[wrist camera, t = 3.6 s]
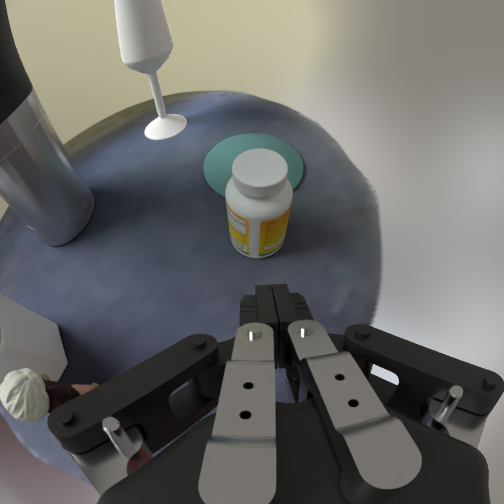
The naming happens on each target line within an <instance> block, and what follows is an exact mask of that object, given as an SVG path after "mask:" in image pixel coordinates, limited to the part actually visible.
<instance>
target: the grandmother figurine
mask: <svg viewBox="0 0 504 504" xmlns="http://www.w3.org/2000/svg"><path fill="white" fill-rule="evenodd" d="M98 386H99V384H97V383H92V384H91V385H76V384H74V385H67V384H65V383H61V382H56V381H51V380H50V377H49V376H48V375H47V374H42V375H39V374H37V373H35V372H34V371H33V370H31V369H29V368H24V369H20V370H15V371H12V372H10V373H8V374H7V375H6V377H5V379H4V381H3V382H2V384H1V386H0V398H1V402H2V404H3V406H4V407H5V408H6V409H7V410H8V412H9V413H10V414H11V415H12V416H14V418H15V419H19V420H20V421H24V422H31V421H38V420H39V419H40V418H42V417H44V416H45V415H46V414H47V412H49V413H51V412H52V411H53V410H54V409H55V408H57V407H58V406H60V405H62V404H64V403H66V402H68V401H70V400H72V399H74V398H76V397H78V396H80V395H82V394H84V393H86V392H88V391H90V390H92V389H94V388H96V387H98Z"/></svg>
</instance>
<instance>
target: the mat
mask: <svg viewBox="0 0 504 504" xmlns="http://www.w3.org/2000/svg"><path fill="white" fill-rule="evenodd" d="M251 149H268V150H272V151H274V152H276V153H278V154H280V155H281V156H282V157H283V158H284V159H285V161H286V163H287V165H288V175H287V179H288V180H289V182H290V184H291V187H292V191H293V190H294V189H295V188H296V187H297V185H298V184H299V183H300V181H301V178H302V175H303V168H304V167H303V161H302V158H301V156H300V154H299V153H298V151H297V150H296V149H295V148H294V147H293V146H292V145H290V144H289V143H287V142H286V141H284V140H282V139H280V138H278V137H275V136H271V135H267V134H260V133H247V134H240V135H236V136H232V137H229V138H227V139H225V140H223V141H221V142H220V143H218V144H217V145H215V146H214V147H213V148H212V149H211V150H210V151H209V153H208V154H207V156H206V158H205V160H204V164H203V171H204V176H205V179H206V181H207V183H208V185H209V186H210V187H211V188H212V189H213V190H214V191H215V192H216V193H218V194H219V195H220V196H222V197H224V198H225V191H226V186H227V184H228V181H229V180H230V178H231V177H232V165H233V162H234V160H235V159H236V157H237V156H238V155H240V154H241V153H243V152H245V151H248V150H251Z"/></svg>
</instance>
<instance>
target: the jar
mask: <svg viewBox="0 0 504 504" xmlns="http://www.w3.org/2000/svg"><path fill="white" fill-rule="evenodd" d="M67 364H68V362H67V358H66V355H65V352H64V348H63V345H62V341H61V337H60V334H59V330H58V325H57V324H56V323H54V322H52V321H50V320H48V319H46V318H44V317H42V316H40V315H38V314H36V313H34V312H32V311H30V310H29V309H27V308H25V307H23V306H21V305H19V304H18V303H16V302H14V301H12V300H11V299H9V298H7V297H6V296H4V295H2V294H1V293H0V386H1V384H2V382H3V381H4V379H5V377H6V375H7V374H8V373H10V372H12V371H15V370H20V369H24V368H29V369H31V370H33V371H34V372H35V373H37V374H39V375H42V374H47V375H48V376H49V377H50V380H51V381H56V382H58V380H59V379H60V377H61V375H62V373H63V371H64V369H65V368H66V366H67Z"/></svg>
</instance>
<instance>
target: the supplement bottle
mask: <svg viewBox="0 0 504 504" xmlns="http://www.w3.org/2000/svg"><path fill="white" fill-rule="evenodd" d="M287 175H288V165H287V163H286V161H285V159H284V158H283V157H282V156H281V155H280V154H278V153H276V152H274V151H272V150H268V149H251V150H248V151H245V152H243V153H241V154H240V155H238V156H237V157H236V159H235V160H234V162H233V165H232V177H231V178H230V180H229V181H228V184H227V186H226V191H225V198H226V207H227V214H228V223H229V231H230V238H231V241H232V244H233V245H234V247H235V248H236V249H237V251H239V252H240V253H241V254H243V255H245V256H247V257H250V258H265V257H267V256H270V255H272V254H274V253H275V252H276V251H278V250H279V249H280V247H281V246H282V244H283V242H284V239H285V234H286V229H287V224H288V219H289V214H290V209H291V204H292V198H293V191H292V187H291V184H290V182H289V180H288V179H287Z"/></svg>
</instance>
